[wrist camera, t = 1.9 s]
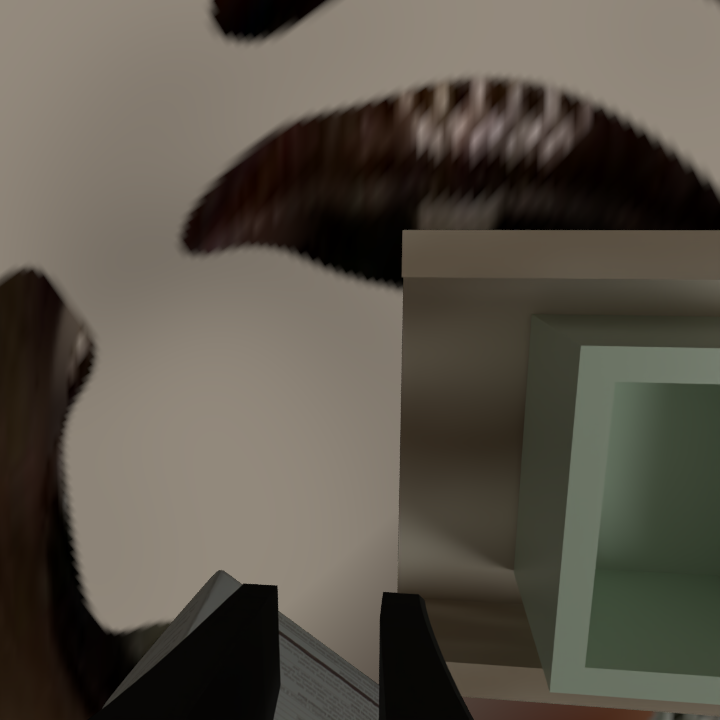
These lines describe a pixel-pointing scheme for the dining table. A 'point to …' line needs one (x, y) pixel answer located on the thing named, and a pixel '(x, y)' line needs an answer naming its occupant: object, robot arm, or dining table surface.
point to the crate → (623, 505)
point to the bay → (506, 419)
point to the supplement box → (297, 664)
